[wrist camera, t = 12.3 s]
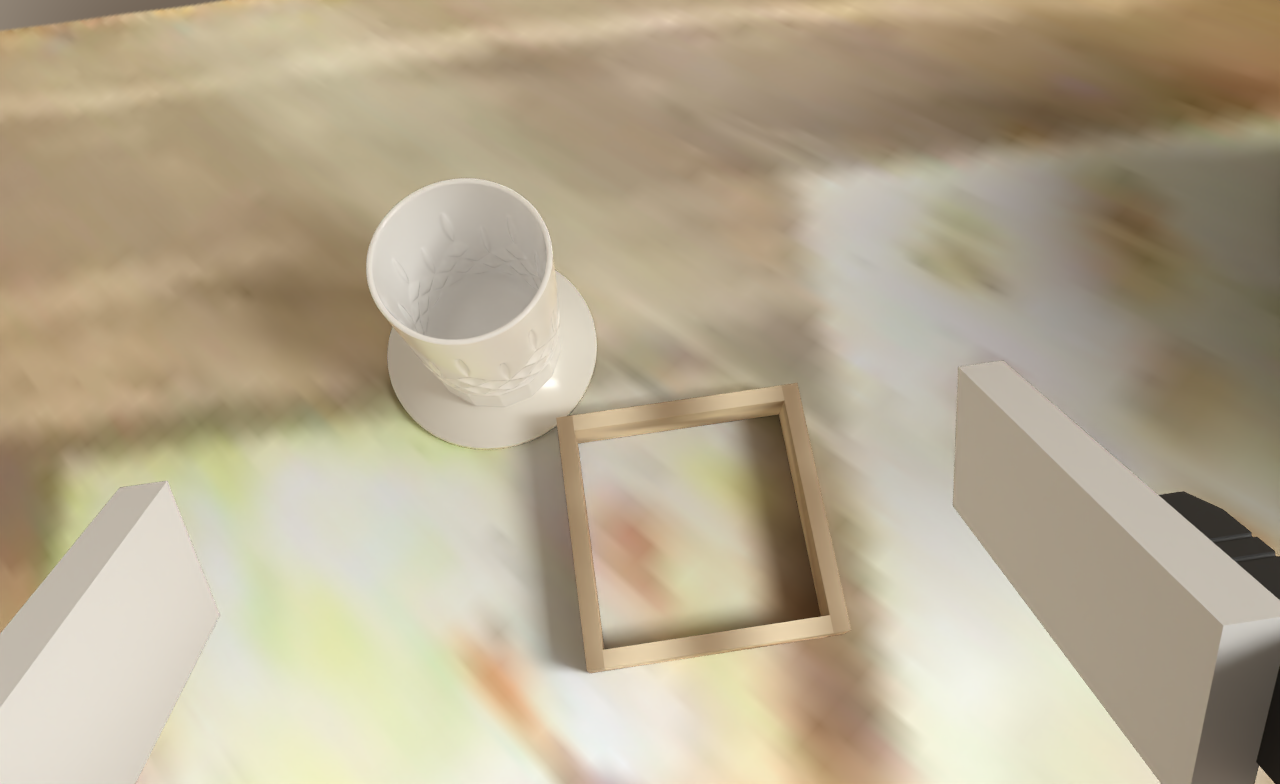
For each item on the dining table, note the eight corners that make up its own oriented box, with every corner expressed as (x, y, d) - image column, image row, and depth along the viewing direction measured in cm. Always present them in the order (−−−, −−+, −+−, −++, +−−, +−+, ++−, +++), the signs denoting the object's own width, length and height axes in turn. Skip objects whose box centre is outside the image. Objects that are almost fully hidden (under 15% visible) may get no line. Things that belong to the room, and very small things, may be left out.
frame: (791, 397, 47) (797, 382, 45) (841, 634, 43) (851, 630, 41) (560, 431, 47) (556, 417, 45) (590, 673, 43) (586, 671, 41)
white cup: (394, 333, 48) (331, 240, 39) (519, 254, 50) (487, 146, 40) (474, 449, 46) (428, 380, 37) (601, 363, 48) (588, 276, 38)
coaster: (583, 244, 50) (582, 240, 50) (610, 433, 47) (609, 430, 46) (384, 271, 50) (381, 268, 50) (395, 464, 46) (393, 462, 46)
